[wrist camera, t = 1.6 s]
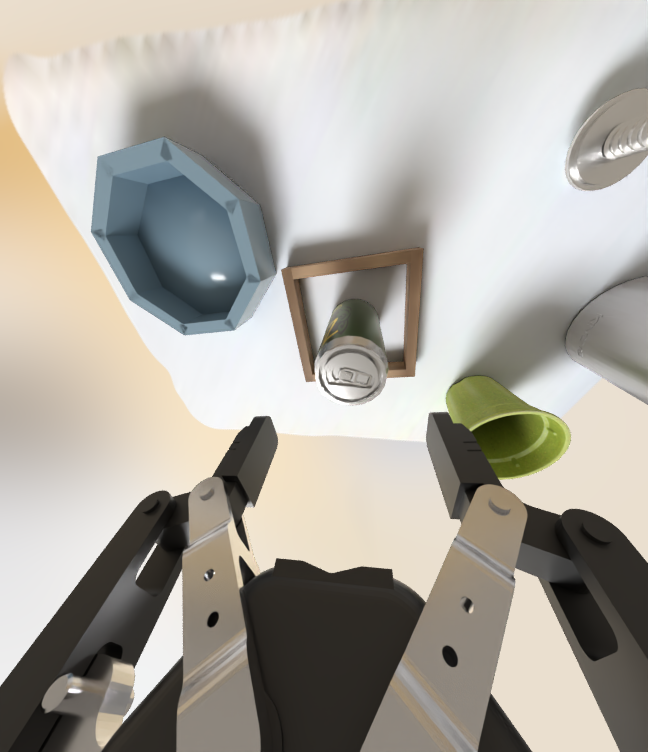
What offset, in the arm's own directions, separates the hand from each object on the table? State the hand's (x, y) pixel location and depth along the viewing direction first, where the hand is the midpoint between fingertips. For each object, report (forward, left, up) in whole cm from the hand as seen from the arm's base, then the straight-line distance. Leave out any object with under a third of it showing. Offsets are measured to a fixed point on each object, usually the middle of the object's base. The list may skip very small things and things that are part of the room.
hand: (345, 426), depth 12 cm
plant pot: (-14, +11, -17) cm, 25 cm away
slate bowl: (+15, -9, -17) cm, 24 cm away
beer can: (0, 0, -17) cm, 17 cm away
